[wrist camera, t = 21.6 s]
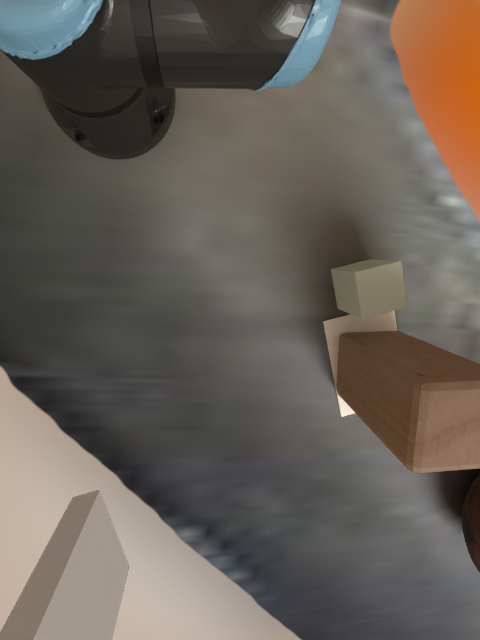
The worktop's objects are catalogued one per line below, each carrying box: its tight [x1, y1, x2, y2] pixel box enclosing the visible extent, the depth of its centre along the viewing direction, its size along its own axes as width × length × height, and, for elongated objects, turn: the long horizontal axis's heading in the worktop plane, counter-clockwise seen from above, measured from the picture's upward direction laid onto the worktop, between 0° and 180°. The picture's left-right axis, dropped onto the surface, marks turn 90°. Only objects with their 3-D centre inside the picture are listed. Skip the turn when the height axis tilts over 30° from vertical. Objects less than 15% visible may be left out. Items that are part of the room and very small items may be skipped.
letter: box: [323, 311, 397, 417], centre depth 52 cm, size 16×11×1 cm
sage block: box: [331, 259, 407, 319], centre depth 45 cm, size 6×6×8 cm
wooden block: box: [336, 331, 480, 473], centre depth 42 cm, size 10×10×20 cm
